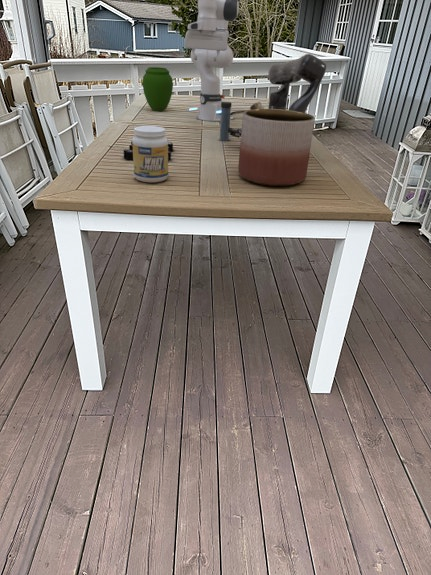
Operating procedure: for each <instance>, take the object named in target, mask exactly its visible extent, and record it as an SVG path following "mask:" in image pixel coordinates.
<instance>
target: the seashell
mask: <svg viewBox="0 0 431 575" xmlns="http://www.w3.org/2000/svg"><path fill="white" fill-rule="evenodd" d="M252 109H265V107H264V106H263V105H262V103H261V101H258V102H255V103H253V104H252V105H251V106H250V107H249V110H252Z"/></svg>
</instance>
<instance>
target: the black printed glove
mask: <svg viewBox="0 0 431 575" xmlns="http://www.w3.org/2000/svg"><path fill="white" fill-rule="evenodd" d="M128 148H129V149H123V158H124V159H126V160H127V161H133V145H132V140H131V143H130V145H129V147H128ZM172 152H174V143H173V142H172V141H168V161H171V160H172Z"/></svg>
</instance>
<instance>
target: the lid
mask: <svg viewBox="0 0 431 575" xmlns="http://www.w3.org/2000/svg"><path fill="white" fill-rule="evenodd" d="M221 107H222V108H231V109H232V102H231V101H222V102H221Z"/></svg>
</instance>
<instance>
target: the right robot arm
mask: <svg viewBox="0 0 431 575" xmlns="http://www.w3.org/2000/svg"><path fill="white" fill-rule="evenodd" d="M327 67H328V66H327V63H326V62H325V61H324V60H322V59H320V58H319V57H317V56H315V55H314V54H311V53H306V54H303V55H301V56H300V57H299V58H296V59H292V60H288V61H286V62H283V63H274V64H272V65H271V66H270V67H269V69H268V74H267V76H268V82H269V83H270V84H271V85H278V86H280V87H279V88H277V90H274V91H271V92H270V93H269V99H268V108H267V109H282V110H291V111H298V112H303V113H306V112H307V109H308V107H309V105H310V104H311V102H312V100H313V98H314V96H315V94H316V92H317V90H318V88H319V86H320V85H321V82H322V81H323V79H324V76H325V74H326V71H327ZM301 80H304V81H306V82H308V83H309V86H308V88H307V90H305V92H304V93H303V94H302V95H301V96H299V97H298V98H297V99H296V100H294V102H292V103H291V105H290V106H289V107H288V109H287V105H288V97H289V92H290V86H291V84H295V83H298V82H300V81H301ZM241 132H242V127H241V128H240V127H238V128H233V127H230V128H228V133H229V136H232V137H235V138H241Z"/></svg>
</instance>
